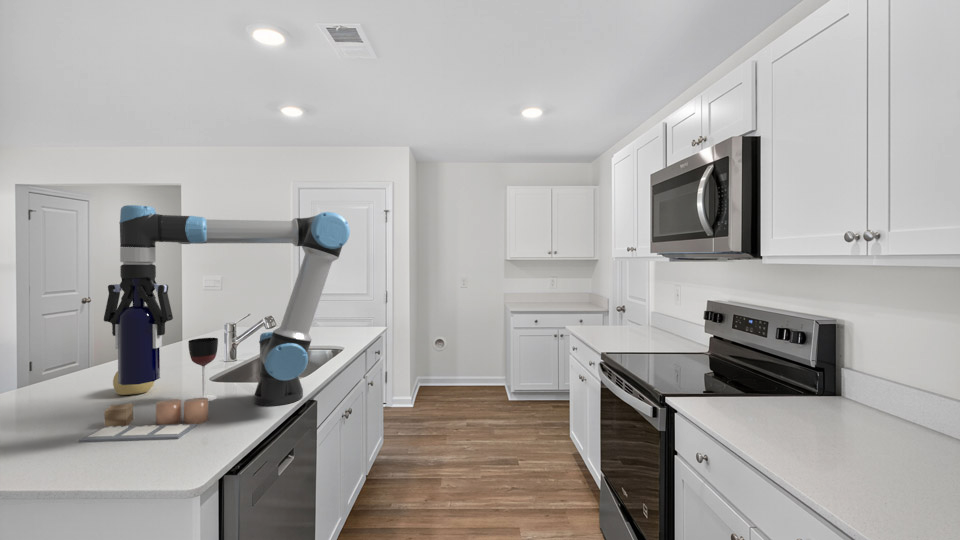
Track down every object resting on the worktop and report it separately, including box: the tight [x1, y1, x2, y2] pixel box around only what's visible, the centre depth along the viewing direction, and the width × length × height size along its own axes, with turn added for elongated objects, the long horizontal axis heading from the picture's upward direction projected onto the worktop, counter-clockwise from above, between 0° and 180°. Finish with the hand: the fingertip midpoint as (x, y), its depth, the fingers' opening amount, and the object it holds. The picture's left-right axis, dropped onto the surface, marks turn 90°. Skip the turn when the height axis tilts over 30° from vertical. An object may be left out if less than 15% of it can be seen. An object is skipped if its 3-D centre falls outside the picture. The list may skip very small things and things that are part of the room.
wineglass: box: [187, 337, 219, 402], centre depth 149 cm, size 8×9×20 cm
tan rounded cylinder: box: [183, 397, 209, 425], centre depth 129 cm, size 6×6×6 cm
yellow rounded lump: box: [112, 370, 155, 396], centre depth 155 cm, size 11×12×11 cm
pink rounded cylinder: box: [155, 398, 182, 425], centre depth 128 cm, size 6×6×6 cm
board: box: [78, 423, 197, 443], centre depth 120 cm, size 24×9×1 cm, turn 96°
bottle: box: [117, 279, 161, 385], centre depth 119 cm, size 9×9×30 cm
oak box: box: [103, 402, 134, 427], centre depth 127 cm, size 5×5×5 cm
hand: (139, 347), depth 119 cm, fingers closed on bottle, 8 cm apart
